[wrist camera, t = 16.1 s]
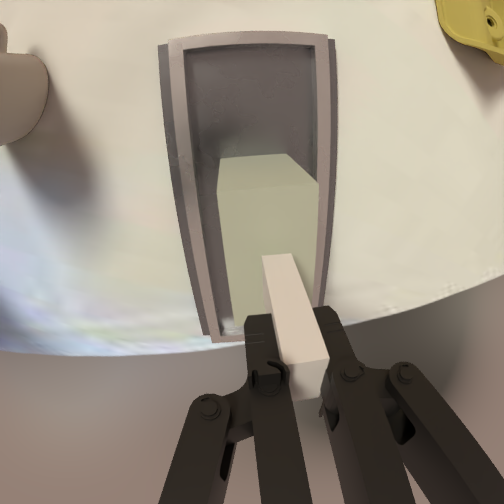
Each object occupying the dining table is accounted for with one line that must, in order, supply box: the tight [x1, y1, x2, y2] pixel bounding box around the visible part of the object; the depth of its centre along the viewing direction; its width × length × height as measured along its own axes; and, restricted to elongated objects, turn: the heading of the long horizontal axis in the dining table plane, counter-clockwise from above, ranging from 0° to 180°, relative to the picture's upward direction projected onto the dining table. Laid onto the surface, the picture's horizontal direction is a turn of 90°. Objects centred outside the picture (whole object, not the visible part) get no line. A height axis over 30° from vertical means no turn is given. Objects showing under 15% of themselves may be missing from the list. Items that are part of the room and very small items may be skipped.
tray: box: [158, 31, 337, 343], centre depth 22 cm, size 13×28×2 cm, turn 3°
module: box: [217, 154, 319, 326], centre depth 19 cm, size 5×9×8 cm, turn 4°
